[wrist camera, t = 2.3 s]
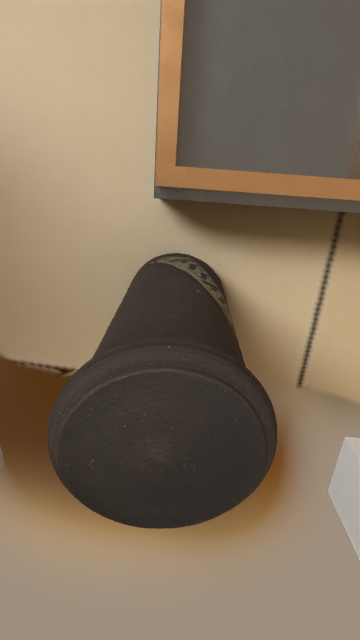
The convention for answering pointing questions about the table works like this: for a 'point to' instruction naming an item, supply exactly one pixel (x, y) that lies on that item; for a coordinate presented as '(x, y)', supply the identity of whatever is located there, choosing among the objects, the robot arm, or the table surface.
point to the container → (164, 407)
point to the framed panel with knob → (259, 103)
